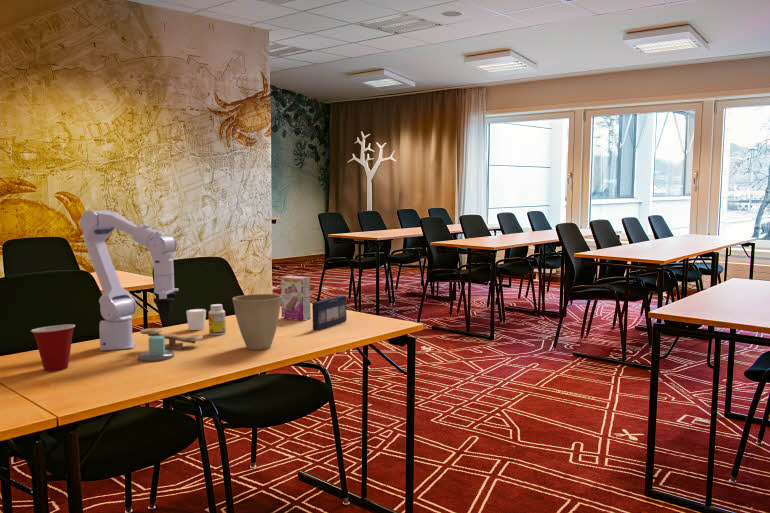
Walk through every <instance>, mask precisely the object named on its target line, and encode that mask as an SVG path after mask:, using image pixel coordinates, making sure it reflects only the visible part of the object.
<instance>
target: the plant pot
mask: <svg viewBox="0 0 770 513" xmlns="http://www.w3.org/2000/svg"><path fill="white" fill-rule="evenodd" d="M232 303H233V308H234V313H235V318H236V321H237V324H238V325H237V326H238V329H239V331H240V334H241V337H242V340H243V342H244V344H245V347H246V349H248V350H253V351H257V350H258V351H259V350H266V349H269V348H271V347H272V344H273V341H274V338H275V334H276V331H277V327H278V322H279V317H280V312H281V294H276V293H275V294H274V293H273V294H272V293H257V294H255V293H254V294H252V293H251V294H244V295H237V296H234V297H232Z"/></svg>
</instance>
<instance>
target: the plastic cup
mask: <svg viewBox="0 0 770 513" xmlns="http://www.w3.org/2000/svg"><path fill="white" fill-rule="evenodd" d="M75 327H76V325H75V324H69V323H68V324H56V325H48V326H42V327H37V328H34V329H33V328H32V329H31V330H30V332H32V334H33V337H34V338H35V341H36V345H37V349H38V352H39V356H40V359H41V364H42V367H43V369H44V370H43V371H45V372H58V371H65V369H68V367H69V363H70V361H69V360H70V356H71V351H72V350H71V348H72V339H73V335H74V334H73V333H74V329H75Z"/></svg>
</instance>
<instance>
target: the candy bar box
mask: <svg viewBox="0 0 770 513" xmlns="http://www.w3.org/2000/svg"><path fill="white" fill-rule="evenodd" d="M310 279H311V278H310V277H306V276H294V275H286V276H280V296H281V305H280V307H281V318H282V317H284V318H283V319H286V318H291V319H290V320H294V319H297V321H302V320H304V321H306V320H305V319H308V318H311V285H310V283H311V280H310ZM308 320H309V319H308Z"/></svg>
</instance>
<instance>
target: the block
mask: <svg viewBox="0 0 770 513" xmlns="http://www.w3.org/2000/svg"><path fill="white" fill-rule="evenodd" d="M147 339H148V351H149V356H159V355H164V353H165V344H166V342H165V341H166V340H165V337H164V336H149V337H148V338H147Z"/></svg>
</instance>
